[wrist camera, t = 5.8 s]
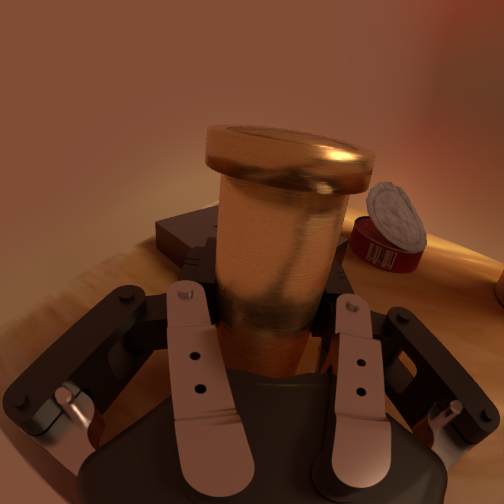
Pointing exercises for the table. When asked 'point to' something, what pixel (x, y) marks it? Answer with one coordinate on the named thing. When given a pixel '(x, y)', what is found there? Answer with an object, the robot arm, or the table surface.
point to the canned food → (389, 231)
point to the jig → (200, 234)
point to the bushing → (276, 237)
